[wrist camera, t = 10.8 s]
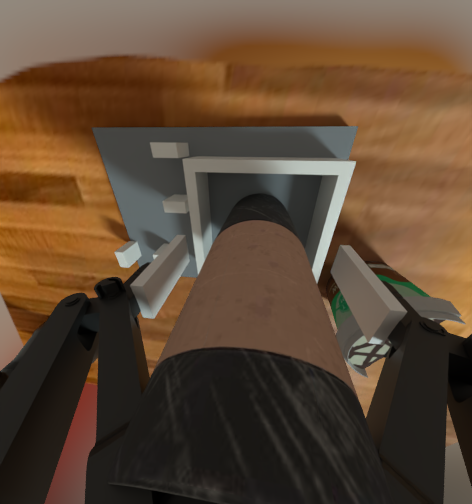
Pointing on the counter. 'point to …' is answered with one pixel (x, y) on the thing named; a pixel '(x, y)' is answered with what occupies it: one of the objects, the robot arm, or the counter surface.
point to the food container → (366, 353)
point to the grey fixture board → (210, 176)
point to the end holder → (331, 168)
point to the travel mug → (253, 384)
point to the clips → (171, 205)
